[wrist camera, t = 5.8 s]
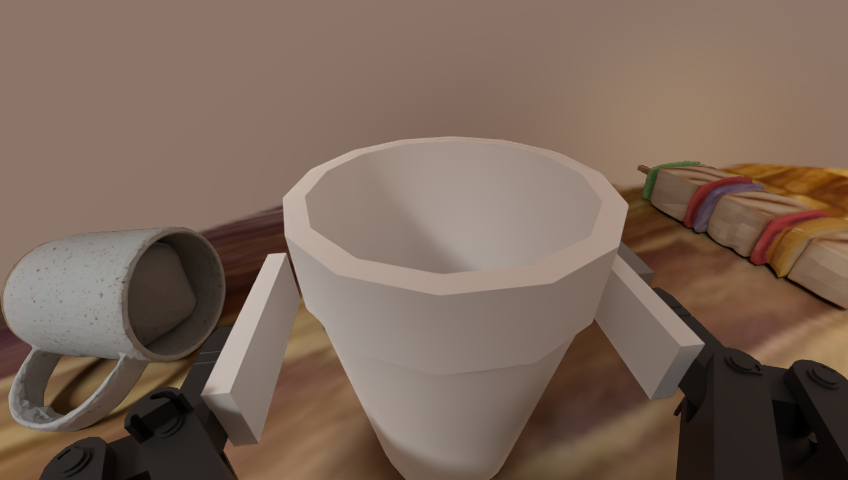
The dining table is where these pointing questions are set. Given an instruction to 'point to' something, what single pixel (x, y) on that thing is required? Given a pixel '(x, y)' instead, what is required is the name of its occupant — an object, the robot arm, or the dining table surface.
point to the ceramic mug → (108, 312)
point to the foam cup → (452, 286)
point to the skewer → (756, 224)
